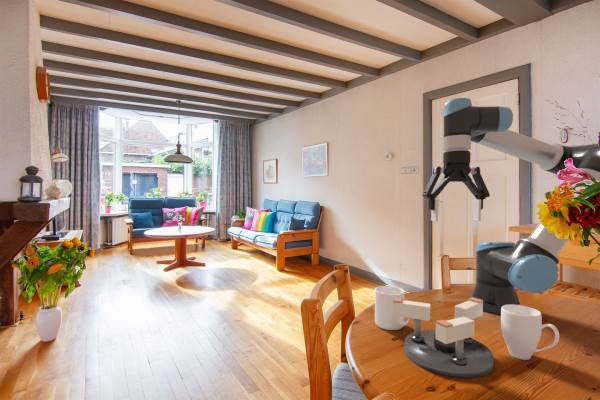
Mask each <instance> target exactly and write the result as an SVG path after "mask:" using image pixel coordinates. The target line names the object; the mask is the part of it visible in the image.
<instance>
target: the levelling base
mask: <svg viewBox="0 0 600 400" xmlns="http://www.w3.org/2000/svg"><path fill="white" fill-rule="evenodd" d="M435 336H436V329H423V330H422V329H421V337H415V336H414V331H413V332H411V333H409V334H407V336H406V337H405V339H404V353H405V354H406V355H405V356H407V358H408V359H409V360H410V361H411V362H413V363H414V364H415V365H416V366H419V367H420V368H422V369H425V370H427V371H429V372H431V373H433V374H437V375H441V376H445V377H450V378H456V379H457V378H458V379H477V378H483V377H484V376H487V375H489V374H490V373H492V371H493V369H494V355H493V352H492V351H491V350H490V349H489V348H488V347H487V346H486V345H485V344H484V343H482V342H480V341H478V340H476V339H474V338H472V337H469V338H468V339H464V345H463V359H457V358H456V357H455V353H456V341H455V342H452V343H448V344H445V343H443V342H441V341H439V340H437V339H435Z"/></svg>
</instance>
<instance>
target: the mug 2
mask: <svg viewBox="0 0 600 400" xmlns="http://www.w3.org/2000/svg"><path fill="white" fill-rule="evenodd" d="M542 319H543V317H542V313H541V311H540V310H538V309H535V308H533V307H530V306H526V305H521V304H520V305H512V304H510V305H504V306H502V308H501V314H500V328H501V334H502V336H503V338H504V339H503V340H504V341H505V345H506V347H507V350H508V352H509V354H510V355H511V356H512V357H513V358H516V359H518V360H523V361H526V360H530V359H532V356H533V355H534V353H540V352H543V351H546V350H548V349H551V348H553V347H554V346H556V345H557V344H558V343H559V341H560V332H559V329H558V328H557V327H556V326H555V325H554V324H552V323H544V324H543V320H542ZM545 328H550V329H552V331H553V332H554V341H553V342H552V343H551V344H549V345H548V346H545V347H543V348H542V347H541V348H540V349H538V348H537V347H538V345H539V342H540V340H541V337H542V333H543V332H542V331H543V329H545Z"/></svg>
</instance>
